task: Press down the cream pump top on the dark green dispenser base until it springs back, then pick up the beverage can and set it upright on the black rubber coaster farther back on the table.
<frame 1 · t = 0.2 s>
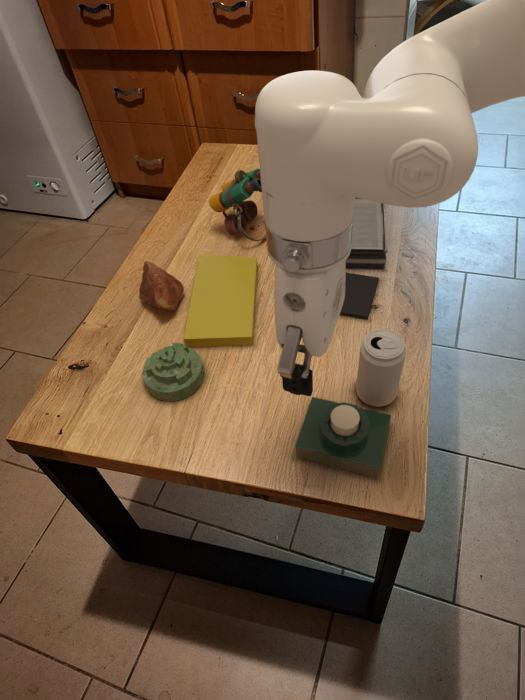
hand: (310, 358, 55), 21 cm above the table, tool pointing down, fingers open, 9 cm apart
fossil: (163, 300, 96), on the table
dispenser: (343, 440, 72), on the table
radio: (337, 232, 105), on the table
decorative artifact: (175, 378, 83), on the table
binoculars: (246, 229, 109), on the table
tape dispenser: (295, 182, 120), on the table
beverage can: (376, 393, 77), on the table
coaster: (344, 294, 92), on the table
flat olive board: (225, 300, 94), on the table
pump top: (344, 420, 68), point 6 cm above the table, slide at 0.1 cm
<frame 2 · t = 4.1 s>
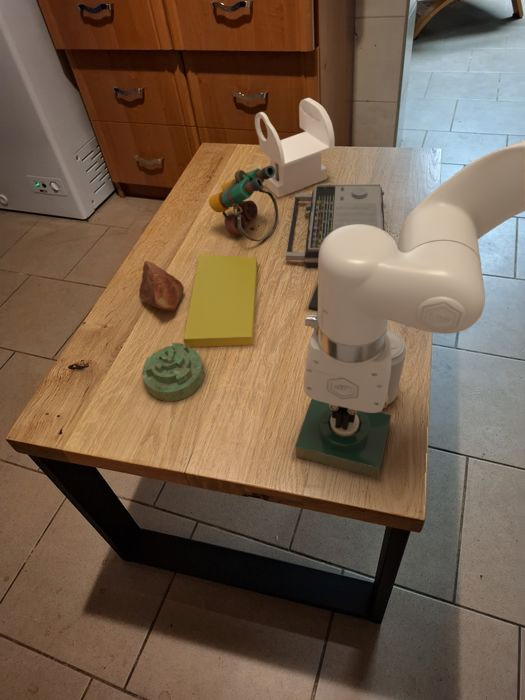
hand: (343, 420, 67), 6 cm above the table, tool pointing down, fingers closed
pump top: (344, 424, 68), point 5 cm above the table, slide at -0.9 cm, touching gripper
everything else where it was.
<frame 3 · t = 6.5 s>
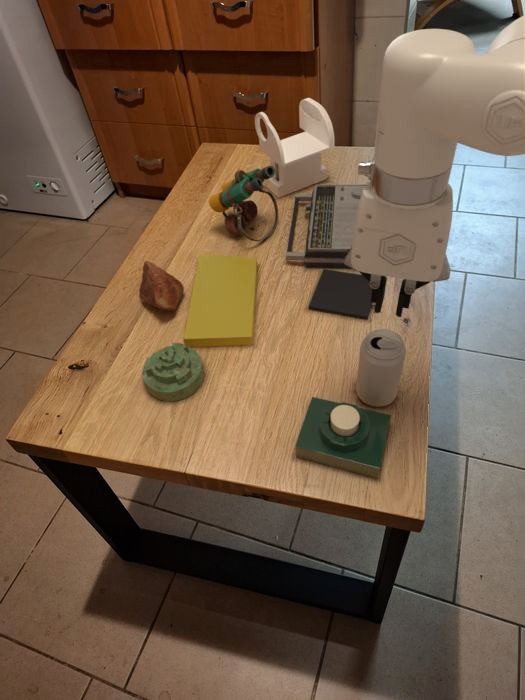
hand: (389, 306, 62), 19 cm above the table, tool pointing down, fingers closed
pump top: (344, 420, 68), point 6 cm above the table, slide at 0.1 cm
everything else where it was.
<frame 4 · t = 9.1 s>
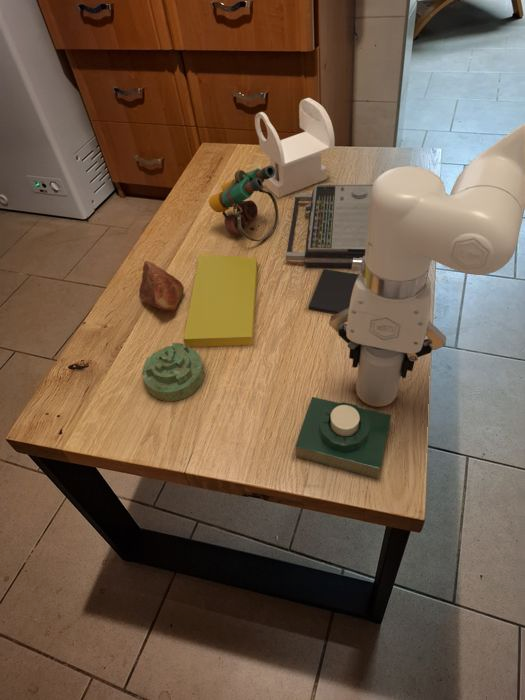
hand: (380, 364, 72), 7 cm above the table, tool pointing down, fingers closed on beverage can, 6 cm apart
beverage can: (376, 393, 77), on the table, touching gripper
everything else where it was.
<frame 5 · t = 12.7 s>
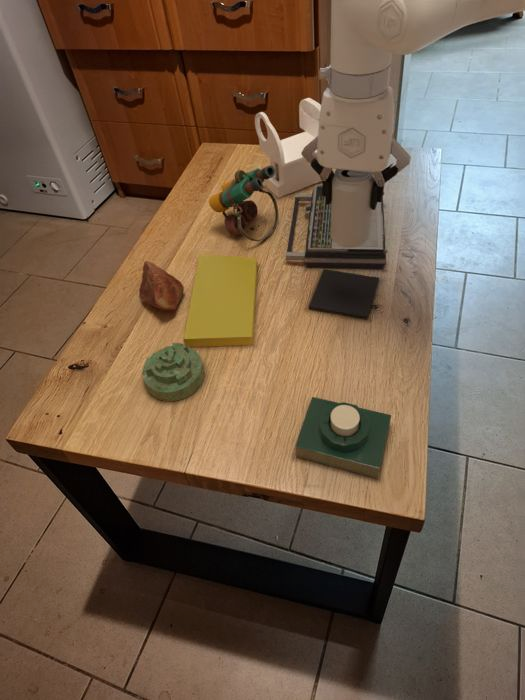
hand: (352, 201, 75), 21 cm above the table, tool pointing down, fingers closed on beverage can, 6 cm apart
beverage can: (349, 239, 81), point 14 cm above the table, touching gripper
everything else where it was.
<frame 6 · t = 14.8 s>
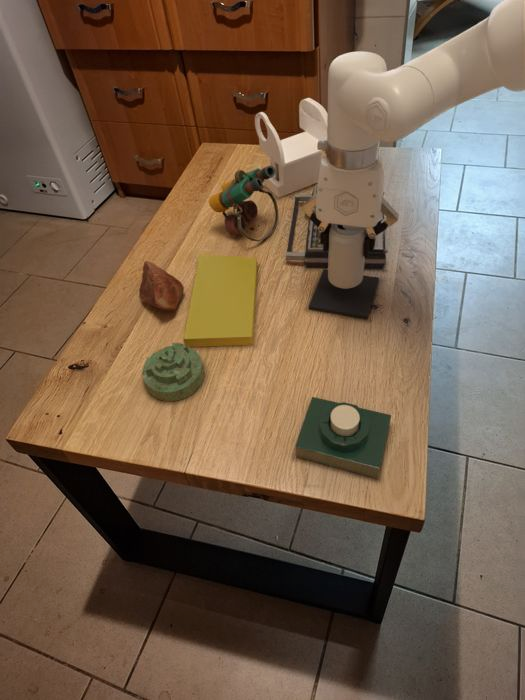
hand: (347, 249, 84), 11 cm above the table, tool pointing down, fingers closed on beverage can, 6 cm apart
beverage can: (345, 280, 89), point 4 cm above the table, touching gripper
everything else where it was.
when the fingers open (8 cm above the table, at t = 16.1 s): beverage can stays where it is, resting on coaster.
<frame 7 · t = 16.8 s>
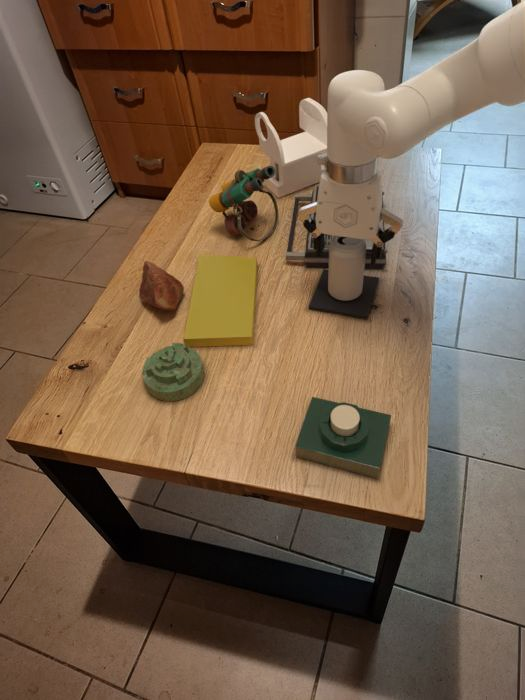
hand: (346, 256, 85), 9 cm above the table, tool pointing down, fingers open, 9 cm apart
beverage can: (345, 292, 92), point 1 cm above the table, touching coaster
everything else where it was.
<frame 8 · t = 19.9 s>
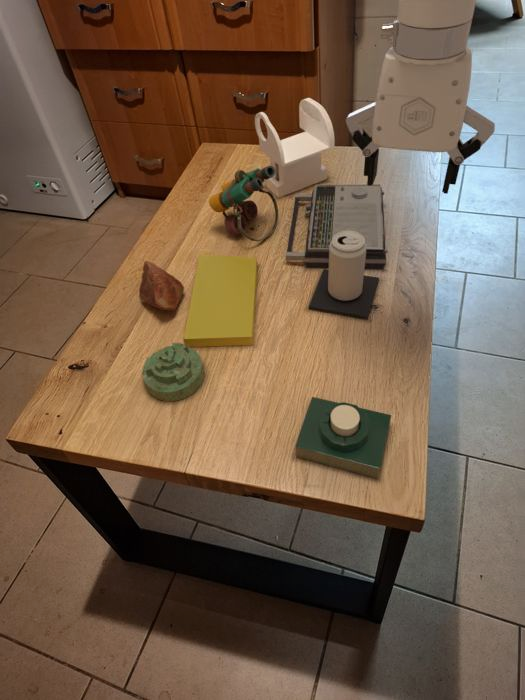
hand: (408, 184, 64), 28 cm above the table, tool pointing down, fingers open, 9 cm apart
nothing on the table moved.
at the end: pump top pushed in 1.2 cm at the most during the clip, back to where it started at the end; beverage can 0.1 cm off-centre on the coaster, point 0.6 cm above the coaster's base; beverage can tilted 0° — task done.
